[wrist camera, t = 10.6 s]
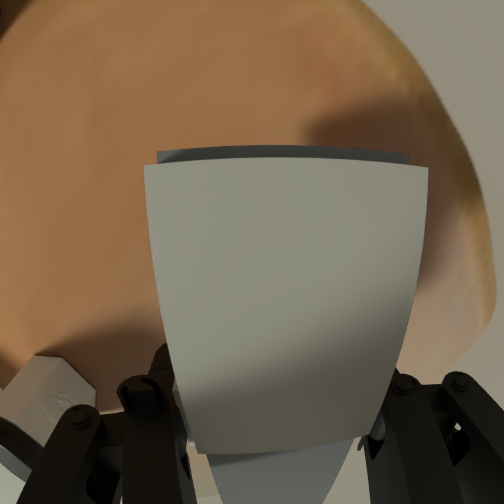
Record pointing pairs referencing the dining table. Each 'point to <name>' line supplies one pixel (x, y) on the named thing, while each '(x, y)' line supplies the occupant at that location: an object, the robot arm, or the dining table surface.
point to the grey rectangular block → (283, 302)
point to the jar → (37, 409)
